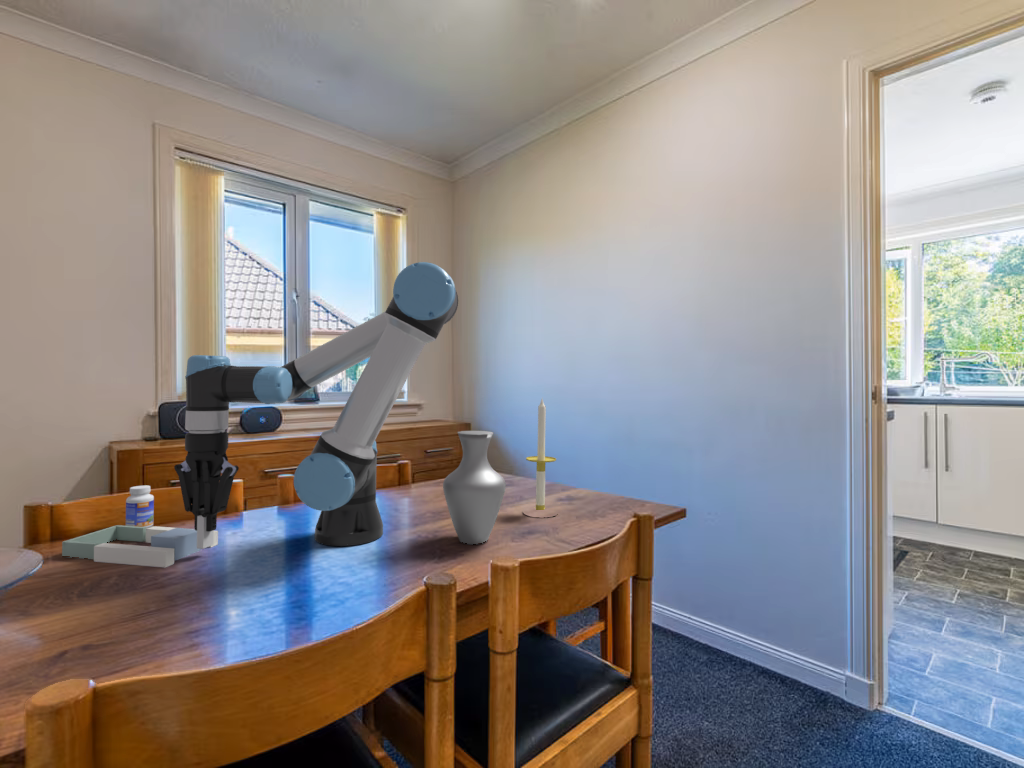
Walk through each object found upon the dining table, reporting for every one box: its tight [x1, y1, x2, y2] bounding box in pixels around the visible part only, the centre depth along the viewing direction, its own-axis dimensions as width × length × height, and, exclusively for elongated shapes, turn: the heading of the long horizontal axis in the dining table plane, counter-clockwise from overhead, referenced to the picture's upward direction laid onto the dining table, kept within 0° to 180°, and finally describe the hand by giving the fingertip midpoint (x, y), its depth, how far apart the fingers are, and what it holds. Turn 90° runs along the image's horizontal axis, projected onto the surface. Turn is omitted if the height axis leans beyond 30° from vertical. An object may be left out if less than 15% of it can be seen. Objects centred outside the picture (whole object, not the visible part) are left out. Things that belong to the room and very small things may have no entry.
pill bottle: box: [125, 484, 155, 529], centre depth 119 cm, size 5×5×10 cm
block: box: [150, 527, 202, 562], centre depth 101 cm, size 6×6×4 cm
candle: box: [525, 398, 557, 510], centre depth 137 cm, size 10×10×32 cm
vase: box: [442, 430, 507, 545], centre depth 113 cm, size 14×14×25 cm
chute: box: [93, 525, 219, 569], centre depth 102 cm, size 16×14×3 cm
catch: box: [61, 524, 147, 560], centre depth 104 cm, size 8×12×3 cm, turn 171°
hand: (205, 546), depth 100 cm, fingers closed
